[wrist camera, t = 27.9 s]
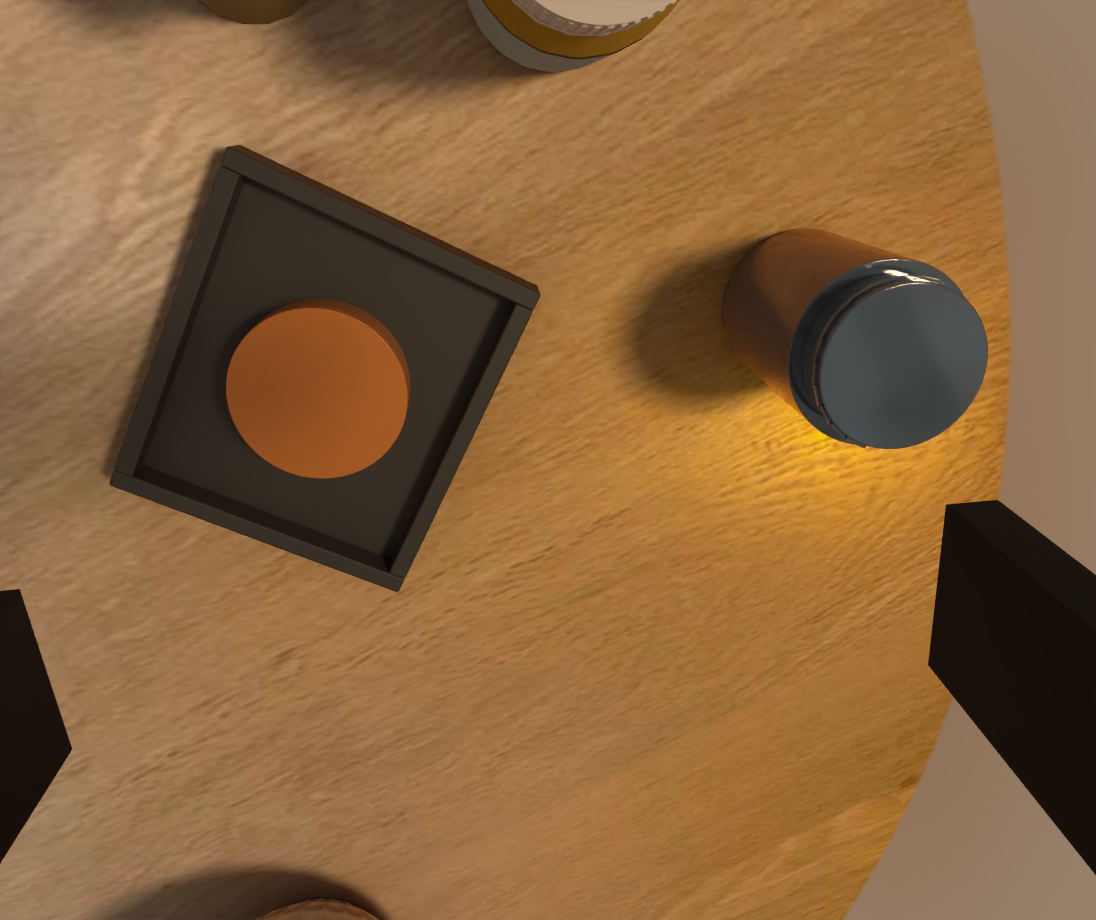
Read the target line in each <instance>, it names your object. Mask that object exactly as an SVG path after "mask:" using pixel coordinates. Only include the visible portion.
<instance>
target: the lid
mask: <svg viewBox="0 0 1096 920" xmlns="http://www.w3.org/2000/svg"><path fill="white" fill-rule="evenodd" d="M410 387H411V385H410V373H409V369H408V364H407V361H406V358H405V355H404V353H403V351H402V349H401V347H400V345H399V343H398V342H397V340H396V339H395V337H394V336H393V335H392V333H391V332H390V331H389V330H388V329H387V328H386V327H385V326H384V325H383V324H382V323H381V322H380V321H379V320H378V319H376V318H375V317H374V316H372V315H371V314H369V313H368V312H366V311H364V310H362V309H360V308H358V307H356V306H354V305H351V304H348V303H346V302H342V301H337V300H332V299H323V298H319V299H305V300H299V301H295V302H292V303H288V304H286V305H284V306H282V307H279V308H277V309H276V310H274V311H272V312H271V313H269V314H268V315H267V316H265V317H264V318H263V319H262V320H261V321H260V322H259V323H258V324H257V325H255V326H254V327H253V328H252V330H250V331H249V333H248V334H247V335H246V336H245V337H244V338H243V339H242V341H241V342H240V344H239V345H238V347H237V348H236V350H235V352H234V354H233V356H232V358H231V361H230V364H229V368H228V372H227V379H226V396H227V403H228V407H229V411H230V414H231V417H232V419H233V422H234V424H235V426H236V428H237V430H238V431H239V433H240V435H241V436H242V437H243V439H244V440H245V441H246V443H247V444H248V445H249V446H250V447H251V448H252V449H253V450H254V451H255V452H256V453H257V454H258V455H259V456H261V457H262V458H263V459H264V460H266V461H267V462H269V463H271V464H272V465H274V466H276V467H278V468H280V469H282V470H284V471H286V472H289V473H292V474H295V475H299V476H304V477H309V478H320V479H321V478H336V477H342V476H346V475H350V474H353V473H356V472H358V471H360V470H363V469H365V468H366V467H368V466H370V465H371V464H373V463H375V462H376V461H377V460H378V459H380V458H381V457H382V456H383V455H384V454H385V453H386V452H387V451H388V450H389V449H390V448H391V446H392V445H393V443H394V442H395V441H396V439H397V437H398V435H399V434H400V432H401V429H402V427H403V424H404V421H405V417H406V413H407V408H408V403H409V398H410Z"/></svg>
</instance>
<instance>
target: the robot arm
mask: <svg viewBox="0 0 1096 920" xmlns="http://www.w3.org/2000/svg"><path fill="white" fill-rule="evenodd" d="M928 665H929V667H930V668H931V669H932V670H933V672H934V673H935V674H936V675H937V677H938V678H939V679H940V680H941V682H942V683H943V684H944V685H945V687H946V688H947V689H948V690H949V692H950V693H951V694H952V695H953V697H954V698H955V699H956V700H957V702H958V703H959V704H960V705H961V707H962V708H963V709H964V710H965V712H966V713H967V714H968V715H969V717H970V718H971V719H972V720H973V721H974V723H975V724H976V726H977V727H978V728H979V729H980V730H981V732H982V733H983V734H984V735H985V737H986V738H987V739H988V740H989V742H990V743H991V744H992V746H993V747H994V748H995V749H996V750H997V752H998V753H999V754H1000V755H1001V757H1002V758H1003V759H1004V761H1005V762H1006V763H1007V764H1008V766H1009V767H1010V768H1011V769H1012V770H1013V772H1014V773H1015V774H1016V776H1017V777H1018V778H1019V779H1020V781H1021V782H1022V783H1023V784H1024V786H1025V787H1026V788H1027V789H1028V791H1029V792H1030V793H1031V794H1032V796H1033V797H1034V798H1035V799H1036V801H1037V802H1038V803H1039V804H1040V806H1041V807H1042V808H1043V809H1044V811H1045V812H1046V813H1047V814H1048V816H1049V817H1050V818H1051V820H1052V821H1053V822H1054V823H1055V825H1056V826H1057V827H1058V828H1059V830H1061V832H1062V833H1063V835H1064V836H1065V837H1066V838H1067V840H1068V841H1069V842H1070V843H1071V845H1072V846H1073V847H1074V848H1075V850H1076V851H1077V852H1078V853H1079V855H1080V856H1081V857H1082V858H1083V860H1084V861H1085V862H1086V863H1087V865H1088V866H1089V867H1090V868H1091V870H1092V871H1093V872H1094V873H1095V875H1096V575H1095V574H1093V573H1092V572H1091V571H1090V570H1088V569H1087V568H1086V567H1084V566H1083V565H1082V564H1081V563H1079V562H1078V561H1077V560H1075V559H1074V558H1073V557H1071V556H1070V555H1069V554H1067V553H1066V552H1065V551H1064V550H1062V549H1061V548H1060V547H1058V546H1057V545H1056V544H1054V543H1053V542H1052V541H1051V540H1049V539H1048V538H1047V537H1045V536H1044V535H1043V534H1041V533H1040V532H1039V531H1038V530H1036V529H1035V528H1034V527H1032V526H1031V525H1030V524H1028V523H1027V522H1026V521H1024V520H1023V519H1022V518H1021V517H1019V516H1018V515H1017V514H1015V513H1014V512H1013V511H1011V510H1010V509H1009V508H1007V507H1006V506H1005V505H1004V504H1002V503H1001V502H1000V501H998V500H992V501H981V502H970V503H959V504H948V505H946V510H945V519H944V528H943V537H942V546H941V555H940V563H939V572H938V581H937V590H936V599H935V608H934V617H933V626H932V635H931V644H930V653H929V662H928ZM71 750H72V747H71V744H70V741H69V738H68V735H67V732H66V729H65V726H64V723H63V720H62V717H61V714H60V711H59V708H58V705H57V702H56V699H55V696H54V693H53V689H52V686H51V683H50V680H49V677H48V674H47V671H46V668H45V665H44V662H43V659H42V656H41V653H40V650H39V647H38V644H37V641H36V638H35V635H34V632H33V629H32V626H31V623H30V620H29V617H28V613H27V610H26V607H25V604H24V601H23V598H22V595H21V592H20V589H16V590H5V591H0V863H1V861H2V860H3V858H4V857H5V855H6V853H7V852H8V850H9V849H10V847H11V846H12V844H13V842H14V841H15V839H16V838H17V836H18V834H19V833H20V831H21V830H22V828H23V826H24V825H25V823H26V822H27V820H28V819H29V817H30V815H31V814H32V812H33V811H34V809H35V807H36V806H37V804H38V803H39V801H40V800H41V798H42V796H43V795H44V793H45V792H46V790H47V788H48V787H49V785H50V784H51V782H52V781H53V779H54V777H55V776H56V774H57V773H58V771H59V769H60V768H61V766H62V765H63V763H64V761H65V760H66V758H67V757H68V755H69V754H70V752H71Z"/></svg>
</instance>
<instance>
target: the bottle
mask: <svg viewBox="0 0 1096 920" xmlns="http://www.w3.org/2000/svg"><path fill="white" fill-rule="evenodd" d="M678 1H679V0H467V2H468V5H469V8H470V10H471V12H472V14H473V16H474V18H475V21H476V23H477V25H478V27H479V29H480V30H481V32H482V33H483V34H484V36H485V37H486V38H487V39H488V40H489V41H490V42H491V43H492V45H493V46H494V47H495V48H496V49H497V50H498V51H499V52H500V53H502V54H503V55H504V56H506V57H508V58H510V59H511V60H513V61H515V62H516V63H518V64H520V65H522V66H524V67H527V68H531V69H536V70H541V71H546V72H560V71H567V70H574V69H578V68H581V67H584V66H586V65H589V64H591V63H593V62H596V61H598V60H600V59H603V58H605V57H607V56H610V55H612V54H614V53H617V52H618V51H620V50H622V49H624V48H626V47H628V46H630V45H632V44H634V43H636V42H637V41H639V40H641V39H642V38H644V37H645V36H646V35H648V34H649V33H650V32H651V31H652V30H653V29H654V28H655V27H656V26H657V25H658V24H659V23H660V22H661V21H662V20H663V19H664V18H665V17H666V16H667V15H668V14H669V13H670V12H671V11H672V10H673V8H674V7H675V5H676V4H677V3H678Z"/></svg>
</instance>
